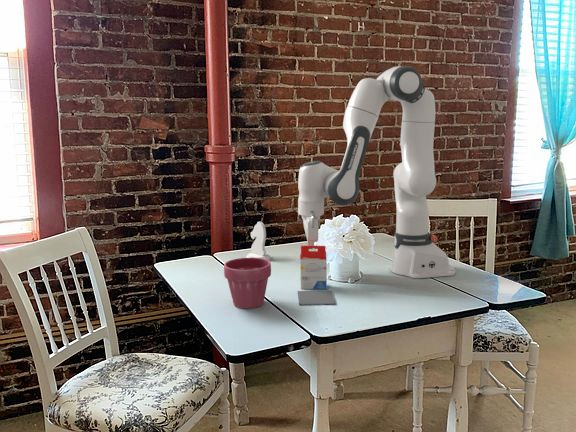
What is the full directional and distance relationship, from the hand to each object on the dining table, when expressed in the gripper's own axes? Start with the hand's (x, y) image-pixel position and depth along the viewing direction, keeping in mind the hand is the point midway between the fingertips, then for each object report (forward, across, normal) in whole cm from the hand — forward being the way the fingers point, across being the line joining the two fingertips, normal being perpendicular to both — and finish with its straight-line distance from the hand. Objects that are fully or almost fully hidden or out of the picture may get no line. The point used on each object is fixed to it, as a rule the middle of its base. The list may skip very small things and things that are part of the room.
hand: (310, 248), depth 197 cm
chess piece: (+11, +24, +19) cm, 32 cm away
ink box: (+10, -11, 0) cm, 15 cm away
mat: (+10, -22, 0) cm, 24 cm away
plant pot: (+11, -26, +21) cm, 34 cm away
